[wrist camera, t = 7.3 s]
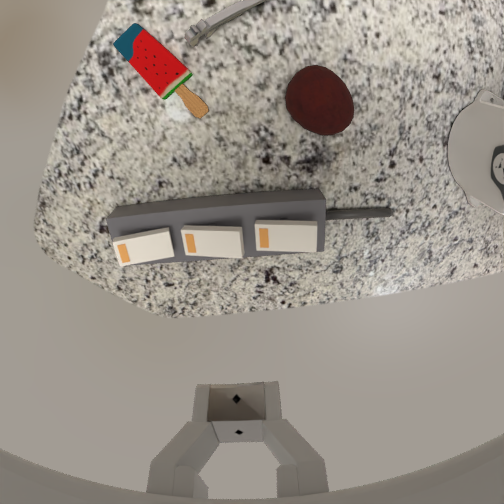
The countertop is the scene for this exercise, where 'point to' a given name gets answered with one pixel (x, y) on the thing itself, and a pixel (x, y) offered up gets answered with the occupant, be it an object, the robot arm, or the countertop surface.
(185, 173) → the countertop surface
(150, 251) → the block
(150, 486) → the robot arm
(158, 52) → the popsicle
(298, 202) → the power strip
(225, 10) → the caliper
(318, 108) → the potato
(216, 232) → the rocker
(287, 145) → the countertop surface
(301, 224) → the rocker
